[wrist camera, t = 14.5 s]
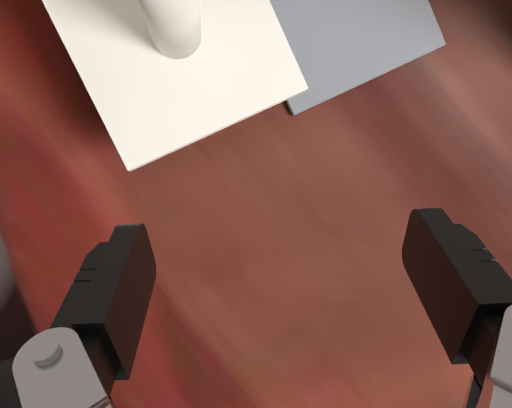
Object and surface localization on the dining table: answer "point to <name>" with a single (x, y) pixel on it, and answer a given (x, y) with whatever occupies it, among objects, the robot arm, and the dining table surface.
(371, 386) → the dining table surface
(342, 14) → the mat
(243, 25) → the cover
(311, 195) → the dining table surface
